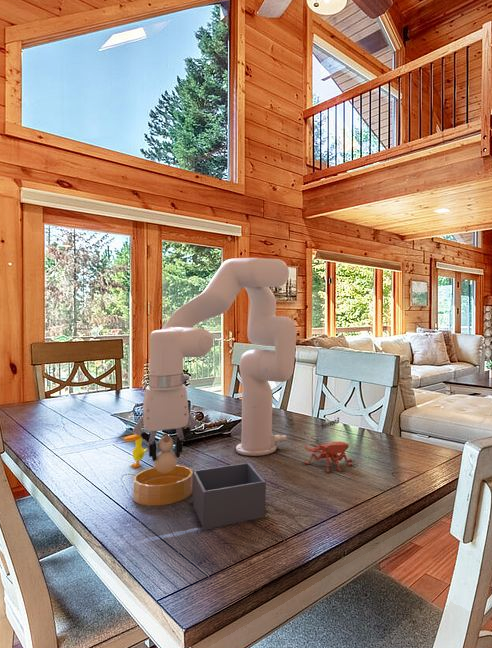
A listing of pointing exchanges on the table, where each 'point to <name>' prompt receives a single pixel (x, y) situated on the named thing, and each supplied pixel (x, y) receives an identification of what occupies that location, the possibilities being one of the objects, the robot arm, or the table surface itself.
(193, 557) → the table surface
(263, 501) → the bin
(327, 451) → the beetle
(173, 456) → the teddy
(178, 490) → the bowl
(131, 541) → the table surface
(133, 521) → the table surface
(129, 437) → the toy figure
